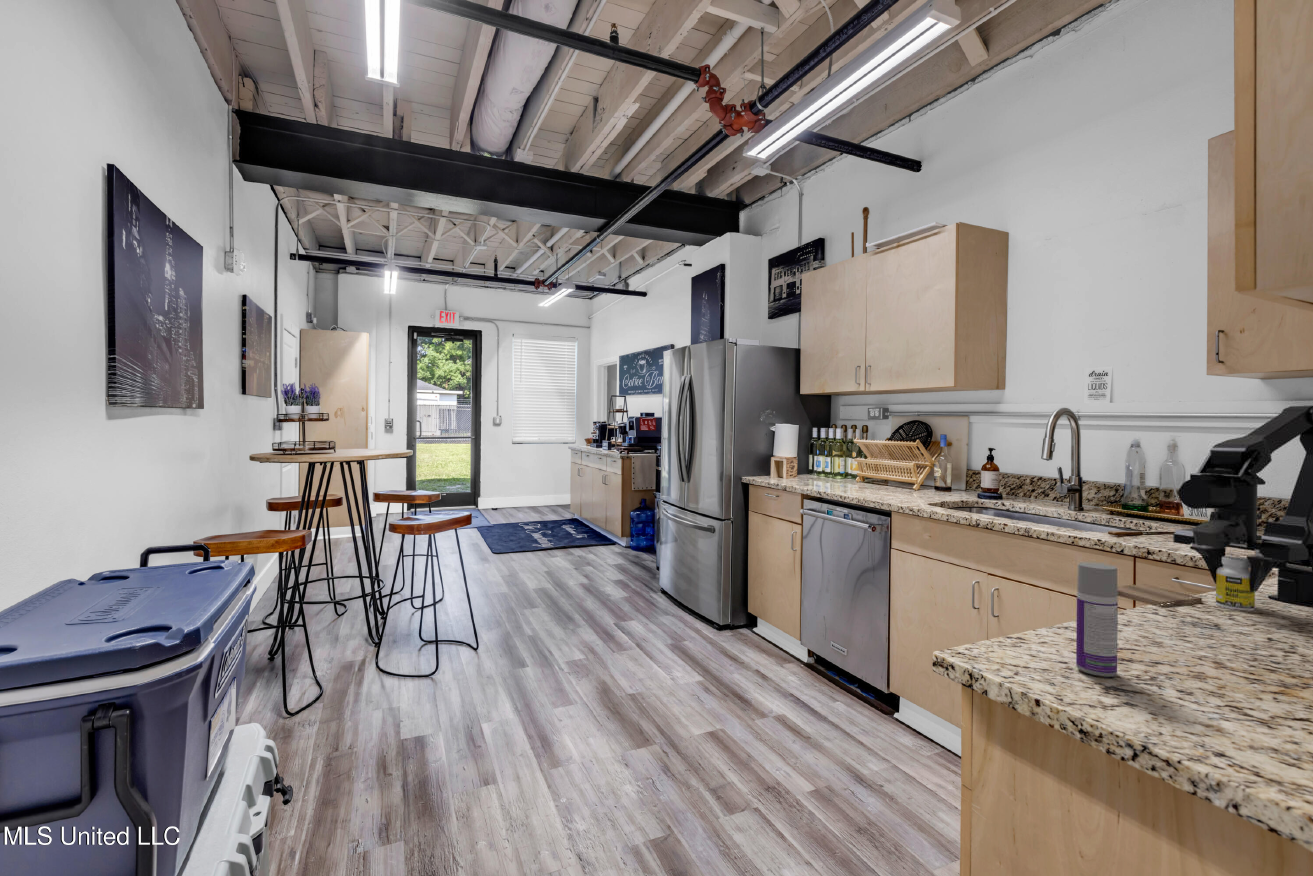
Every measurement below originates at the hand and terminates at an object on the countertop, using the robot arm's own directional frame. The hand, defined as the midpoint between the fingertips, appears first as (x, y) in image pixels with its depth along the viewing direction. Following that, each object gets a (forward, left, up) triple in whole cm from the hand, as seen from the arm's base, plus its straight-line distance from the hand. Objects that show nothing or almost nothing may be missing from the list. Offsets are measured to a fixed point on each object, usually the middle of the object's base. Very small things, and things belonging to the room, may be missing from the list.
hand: (1235, 587), depth 114 cm
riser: (+8, -9, -5) cm, 13 cm away
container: (+56, +17, -4) cm, 59 cm away
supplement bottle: (0, 0, -4) cm, 4 cm away
